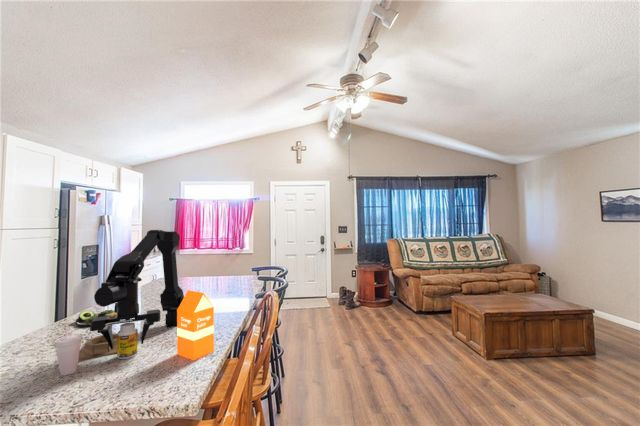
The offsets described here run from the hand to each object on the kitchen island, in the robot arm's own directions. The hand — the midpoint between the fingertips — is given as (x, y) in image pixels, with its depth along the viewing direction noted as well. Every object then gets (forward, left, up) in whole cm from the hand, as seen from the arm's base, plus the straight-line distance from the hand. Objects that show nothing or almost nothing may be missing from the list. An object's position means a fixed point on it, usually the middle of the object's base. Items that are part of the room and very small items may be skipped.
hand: (127, 346), depth 96 cm
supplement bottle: (0, 0, -3) cm, 3 cm away
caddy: (+8, -10, -3) cm, 13 cm away
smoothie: (+14, +4, -3) cm, 15 cm away
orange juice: (-20, +8, -3) cm, 22 cm away
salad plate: (+17, -49, -4) cm, 52 cm away
